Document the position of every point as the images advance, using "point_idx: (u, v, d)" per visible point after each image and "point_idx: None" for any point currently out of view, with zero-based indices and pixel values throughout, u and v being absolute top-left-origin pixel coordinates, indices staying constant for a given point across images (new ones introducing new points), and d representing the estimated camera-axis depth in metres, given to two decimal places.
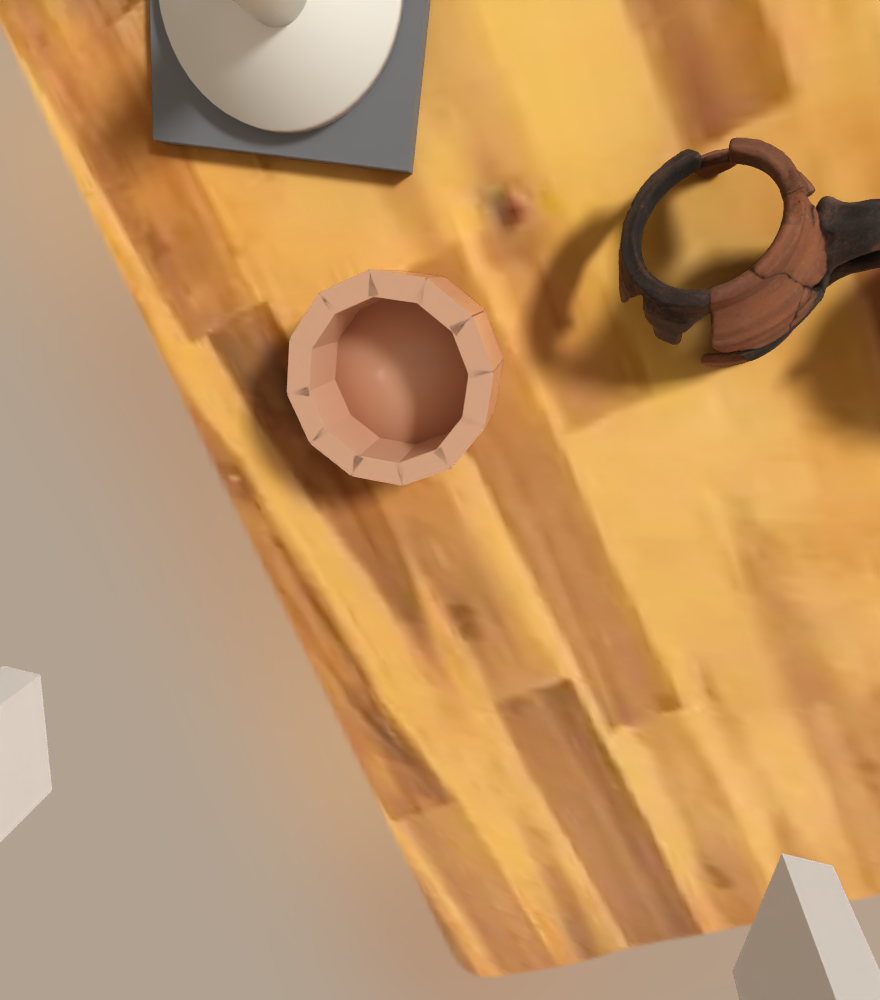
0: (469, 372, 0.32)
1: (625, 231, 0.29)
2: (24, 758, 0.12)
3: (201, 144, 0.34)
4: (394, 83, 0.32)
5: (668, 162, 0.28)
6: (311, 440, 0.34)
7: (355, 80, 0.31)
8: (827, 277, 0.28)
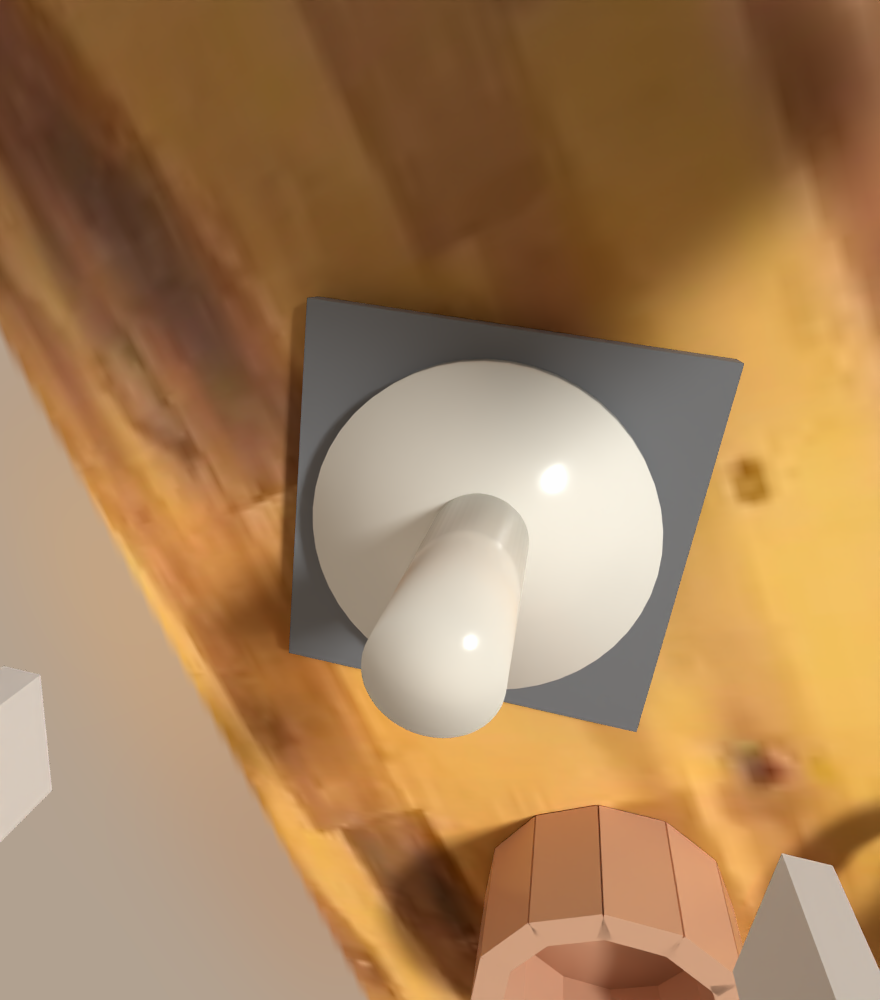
0: None
1: None
2: (24, 758, 0.12)
3: (354, 666, 0.26)
4: (629, 642, 0.24)
5: None
6: None
7: (582, 653, 0.23)
8: None
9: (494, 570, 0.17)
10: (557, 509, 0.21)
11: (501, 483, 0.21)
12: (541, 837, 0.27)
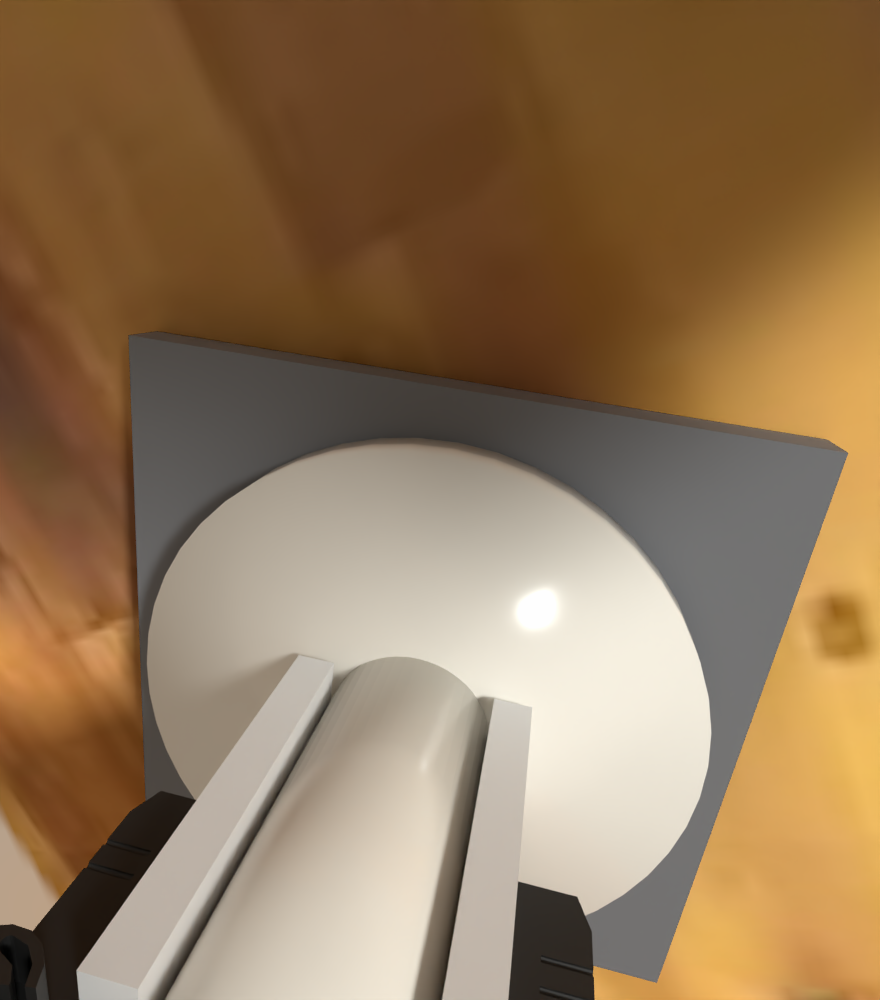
0: None
1: None
2: None
3: None
4: None
5: None
6: None
7: None
8: None
9: (400, 899, 0.08)
10: (534, 688, 0.13)
11: (443, 644, 0.13)
12: None
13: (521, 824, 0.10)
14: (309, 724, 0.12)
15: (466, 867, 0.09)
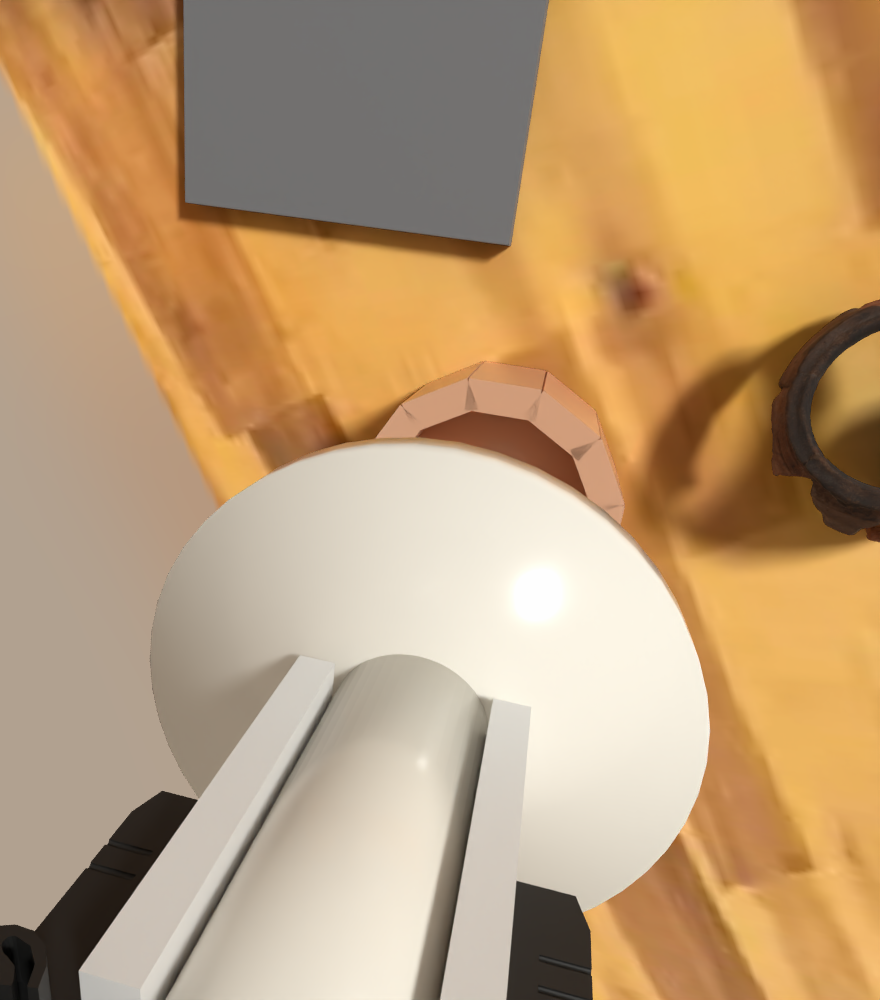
0: None
1: (791, 405, 0.23)
2: None
3: (246, 209, 0.28)
4: (496, 137, 0.25)
5: (847, 321, 0.22)
6: None
7: None
8: None
9: (402, 892, 0.09)
10: (535, 686, 0.13)
11: (444, 643, 0.13)
12: (428, 385, 0.28)
13: (520, 823, 0.10)
14: (310, 725, 0.12)
15: (465, 866, 0.09)
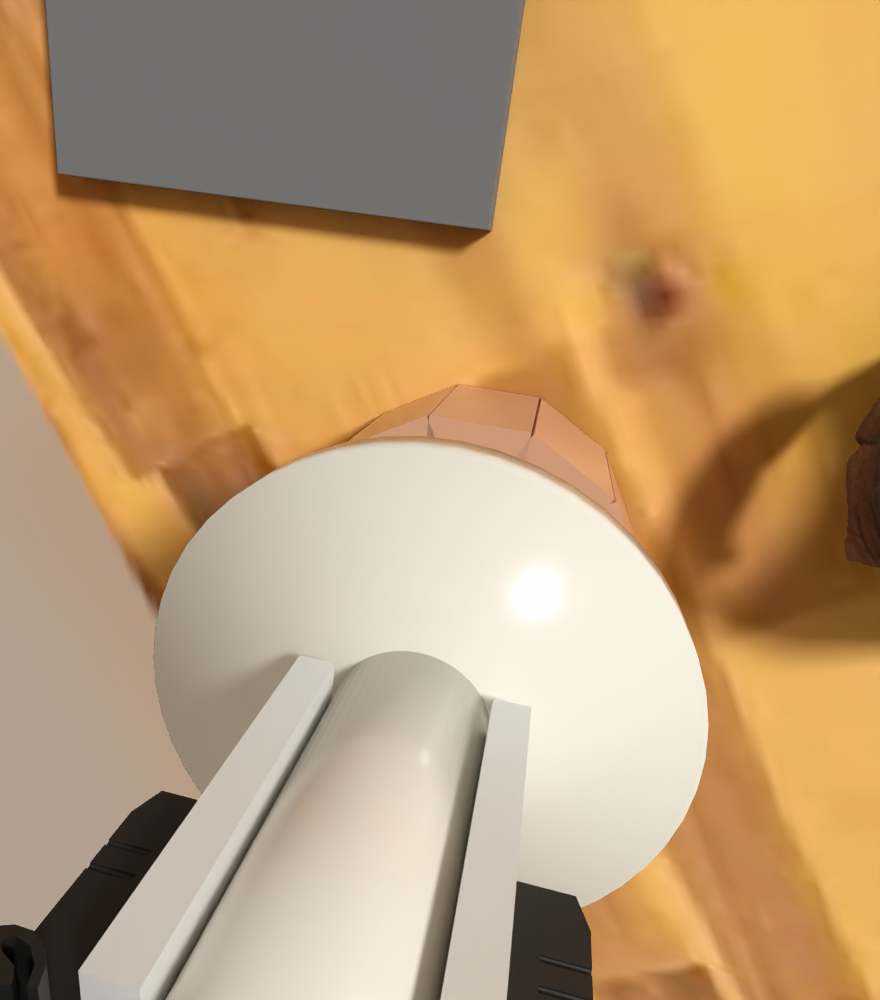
0: None
1: None
2: None
3: (137, 181, 0.21)
4: (468, 78, 0.18)
5: None
6: None
7: (573, 891, 0.15)
8: None
9: (404, 884, 0.09)
10: (535, 682, 0.13)
11: (445, 639, 0.13)
12: (383, 417, 0.21)
13: (520, 824, 0.10)
14: (309, 725, 0.12)
15: (465, 867, 0.09)
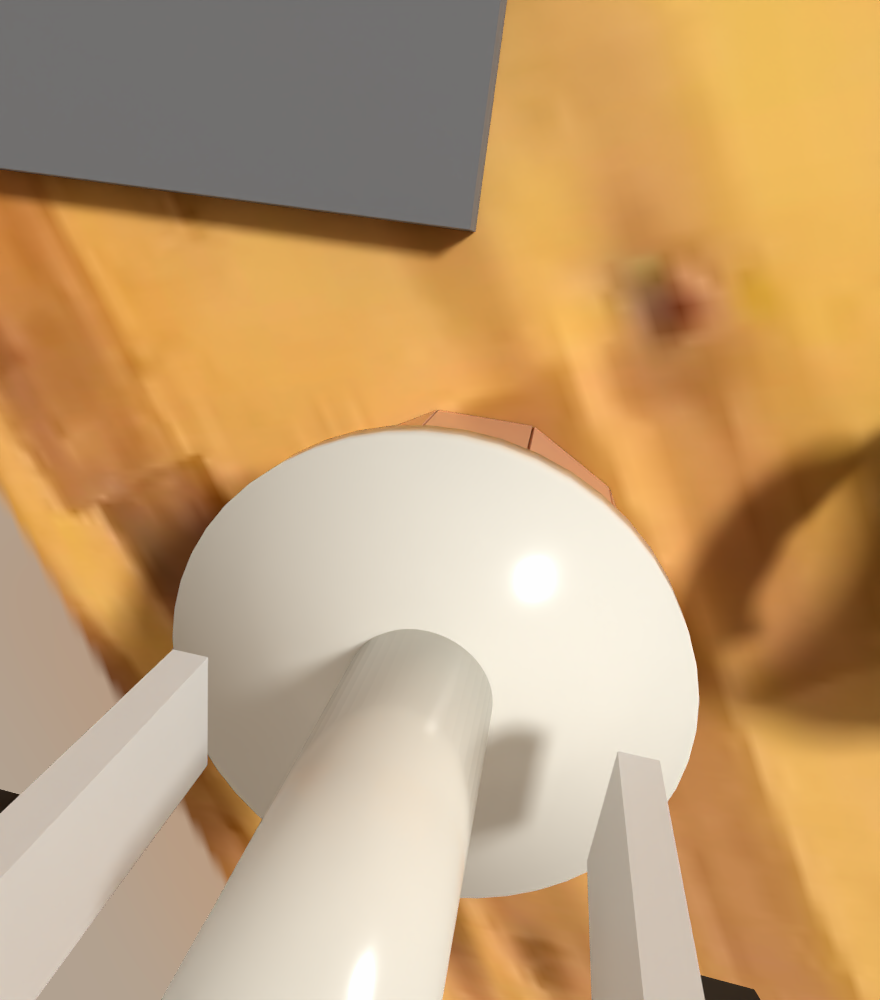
0: None
1: None
2: (193, 734, 0.13)
3: (59, 173, 0.17)
4: (445, 47, 0.15)
5: None
6: None
7: (571, 859, 0.15)
8: None
9: (415, 832, 0.09)
10: (535, 658, 0.14)
11: (451, 618, 0.14)
12: None
13: (684, 905, 0.09)
14: (171, 720, 0.12)
15: (640, 962, 0.08)
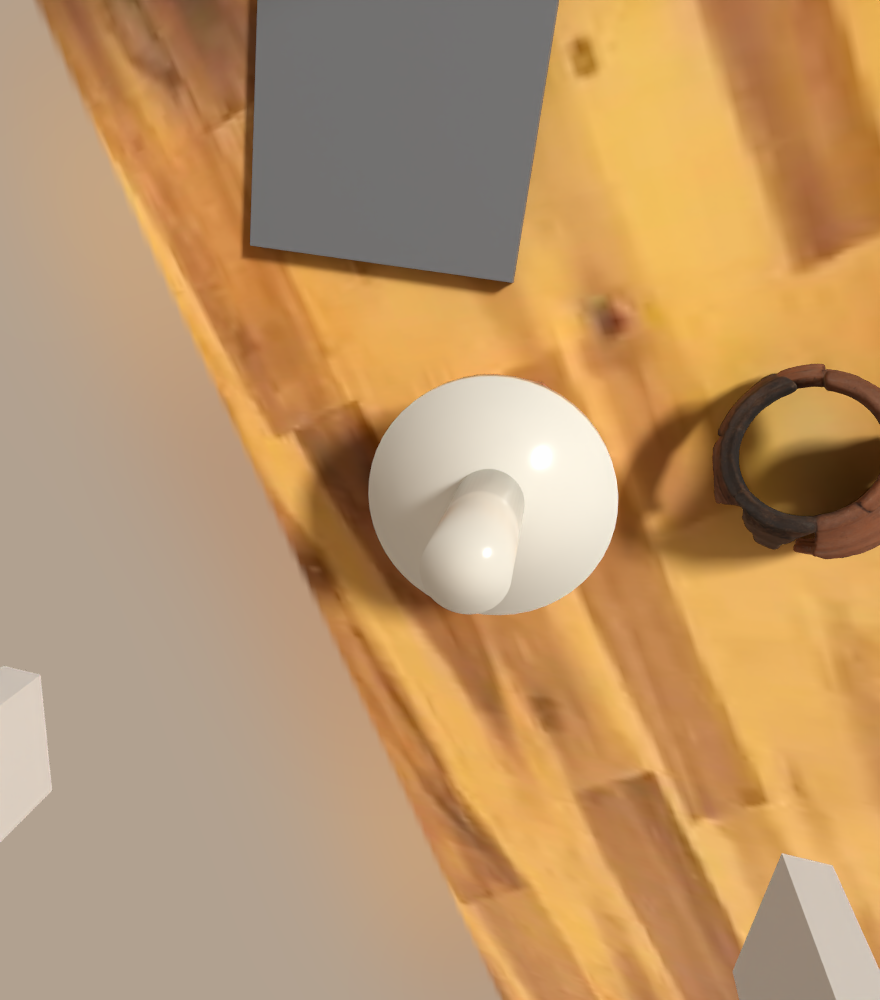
0: None
1: (723, 451, 0.30)
2: (24, 758, 0.12)
3: (299, 251, 0.34)
4: (502, 198, 0.32)
5: (763, 388, 0.30)
6: None
7: (561, 586, 0.32)
8: None
9: (503, 513, 0.26)
10: (544, 480, 0.30)
11: (506, 462, 0.31)
12: None
13: None
14: None
15: None
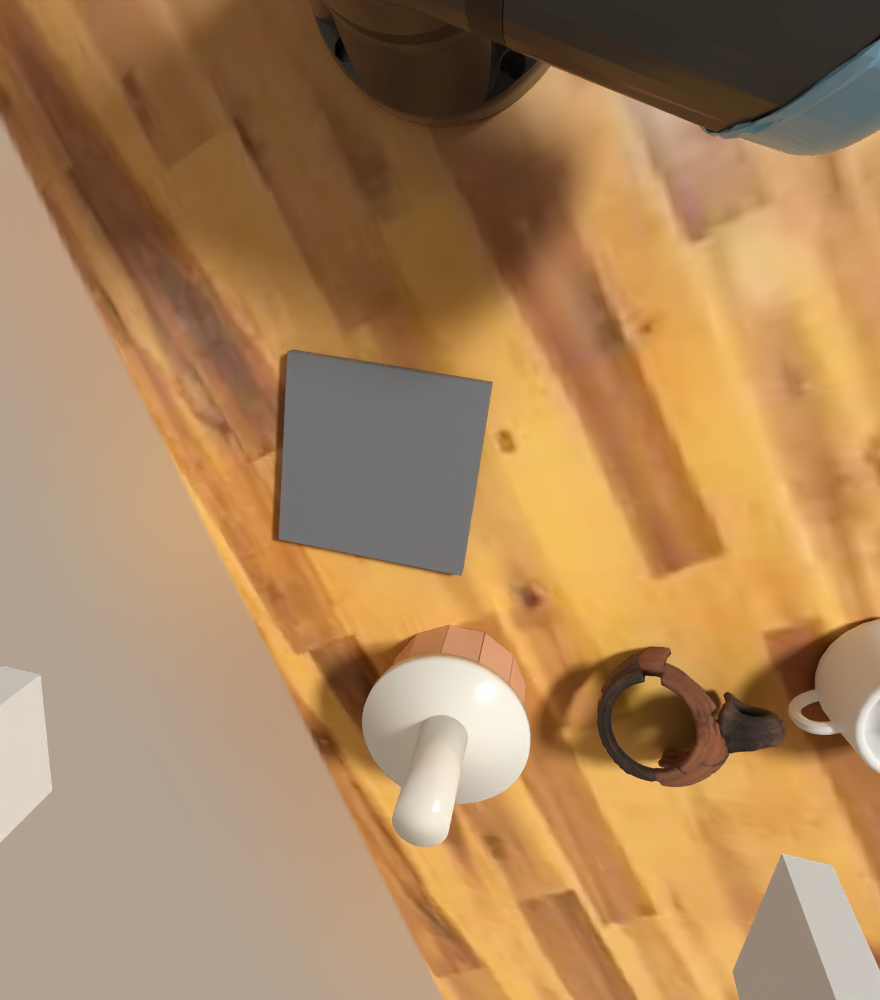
0: None
1: (600, 715, 0.45)
2: (24, 758, 0.12)
3: (313, 545, 0.49)
4: (453, 525, 0.46)
5: (624, 677, 0.44)
6: None
7: (494, 788, 0.47)
8: None
9: (447, 772, 0.41)
10: (480, 724, 0.45)
11: (454, 712, 0.45)
12: (417, 641, 0.49)
13: None
14: None
15: None
